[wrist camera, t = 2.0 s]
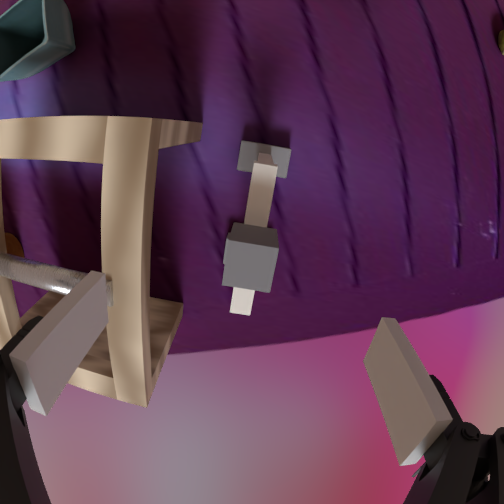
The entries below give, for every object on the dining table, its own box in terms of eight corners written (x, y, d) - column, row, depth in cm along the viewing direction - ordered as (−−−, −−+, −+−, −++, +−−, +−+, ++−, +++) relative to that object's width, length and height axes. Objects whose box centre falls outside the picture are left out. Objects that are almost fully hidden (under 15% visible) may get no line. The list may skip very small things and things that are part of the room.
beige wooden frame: (202, 122, 31) (146, 117, 16) (182, 316, 40) (144, 415, 24) (63, 116, 31) (-40, 124, 15) (65, 289, 40) (-3, 360, 24)
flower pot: (31, 34, 26) (-11, 24, 18) (82, 2, 25) (43, -19, 17) (38, 86, 29) (-8, 84, 21) (91, 55, 28) (48, 41, 20)
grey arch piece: (289, 148, 32) (314, 164, 17) (267, 263, 37) (269, 357, 22) (242, 140, 32) (223, 148, 17) (225, 256, 37) (199, 346, 22)
